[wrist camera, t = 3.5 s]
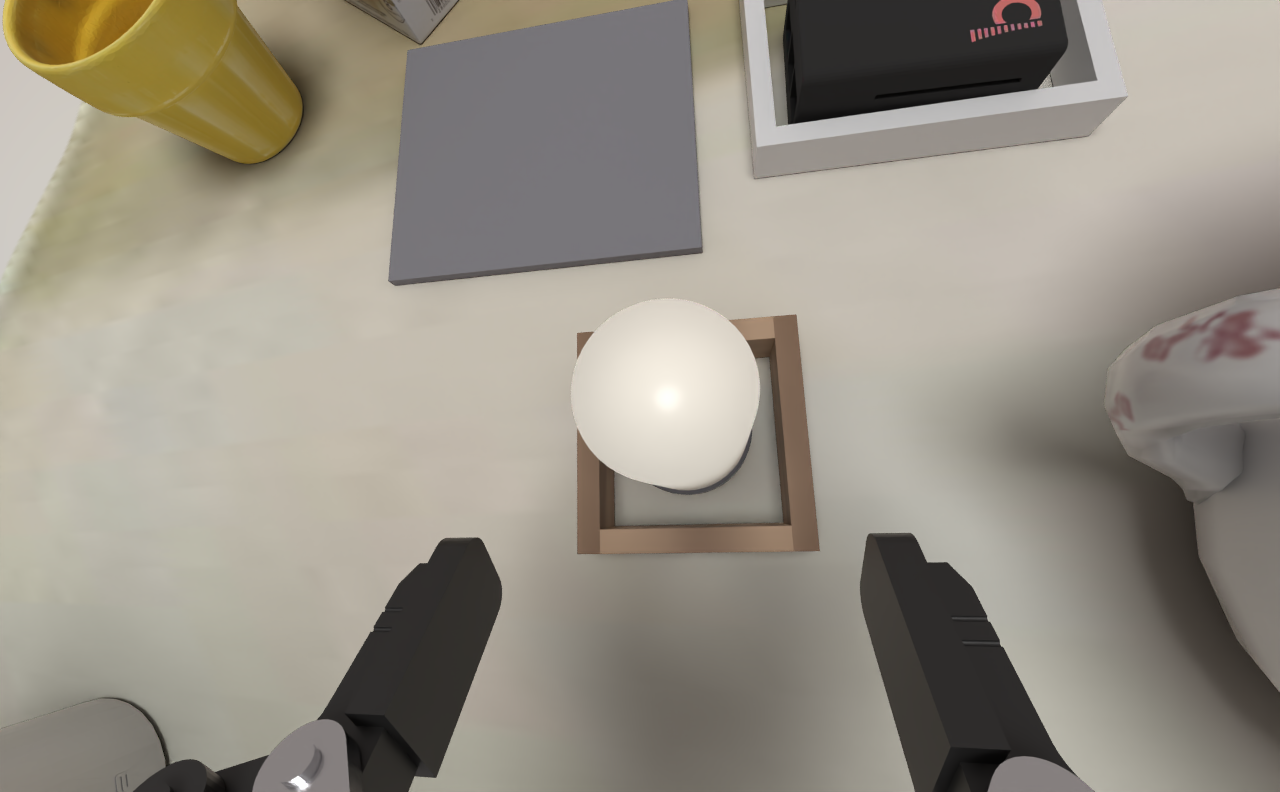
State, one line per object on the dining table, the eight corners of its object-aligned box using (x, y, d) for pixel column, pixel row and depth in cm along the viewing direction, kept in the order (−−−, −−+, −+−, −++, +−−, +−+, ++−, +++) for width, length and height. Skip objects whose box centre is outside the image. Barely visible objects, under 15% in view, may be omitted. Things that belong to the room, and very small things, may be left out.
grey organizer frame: (754, 178, 27) (756, 147, 25) (738, -2, 30) (739, -47, 27) (1088, 135, 24) (1128, 96, 22) (1040, -58, 27) (1071, -113, 25)
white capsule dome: (641, 497, 25) (565, 493, 13) (638, 391, 26) (565, 302, 14) (751, 494, 24) (774, 486, 12) (743, 385, 25) (757, 284, 13)
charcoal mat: (394, 285, 30) (388, 281, 29) (413, 58, 33) (407, 50, 32) (702, 252, 27) (701, 247, 26) (687, 7, 30) (687, -3, 29)
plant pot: (301, 198, 32) (124, 71, 23) (175, 185, 34) (-35, 64, 25) (349, 60, 34) (203, -111, 24) (227, 55, 36) (49, -103, 26)
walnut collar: (595, 547, 24) (577, 554, 22) (593, 351, 27) (577, 333, 24) (807, 544, 23) (819, 550, 20) (788, 336, 25) (796, 314, 22)
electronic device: (782, 40, 29) (793, -53, 24) (986, 12, 27) (1042, -95, 22) (789, 154, 27) (802, 80, 22) (1006, 132, 26) (1070, 46, 21)
